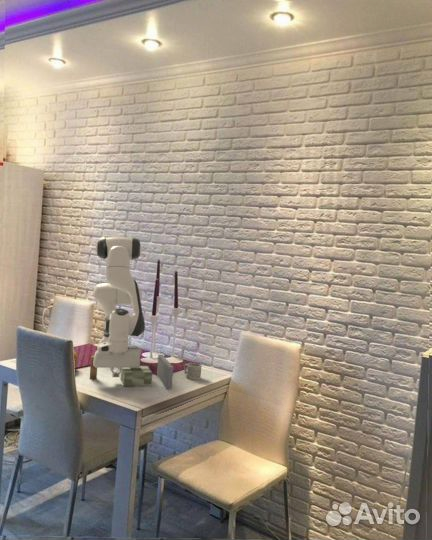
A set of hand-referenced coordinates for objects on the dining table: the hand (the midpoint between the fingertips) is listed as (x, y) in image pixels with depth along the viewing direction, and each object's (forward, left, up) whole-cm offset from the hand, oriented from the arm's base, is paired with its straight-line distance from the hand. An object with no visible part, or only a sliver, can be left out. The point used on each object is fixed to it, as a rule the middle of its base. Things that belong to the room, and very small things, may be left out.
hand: (115, 377), depth 214 cm
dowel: (-7, -9, -3) cm, 12 cm away
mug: (-7, +37, -3) cm, 38 cm away
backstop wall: (0, +22, -3) cm, 22 cm away
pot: (-21, -21, -3) cm, 30 cm away
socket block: (0, +9, -3) cm, 9 cm away
